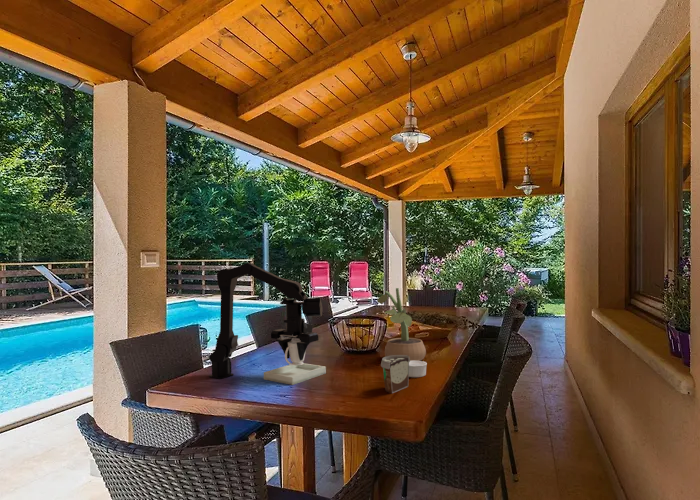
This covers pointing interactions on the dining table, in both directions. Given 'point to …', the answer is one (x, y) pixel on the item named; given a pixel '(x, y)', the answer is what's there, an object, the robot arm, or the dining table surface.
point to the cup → (293, 353)
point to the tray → (294, 373)
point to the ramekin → (417, 368)
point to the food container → (395, 372)
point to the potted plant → (402, 332)
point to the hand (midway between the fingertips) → (294, 359)
